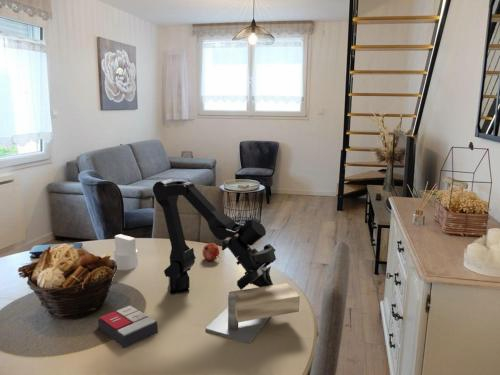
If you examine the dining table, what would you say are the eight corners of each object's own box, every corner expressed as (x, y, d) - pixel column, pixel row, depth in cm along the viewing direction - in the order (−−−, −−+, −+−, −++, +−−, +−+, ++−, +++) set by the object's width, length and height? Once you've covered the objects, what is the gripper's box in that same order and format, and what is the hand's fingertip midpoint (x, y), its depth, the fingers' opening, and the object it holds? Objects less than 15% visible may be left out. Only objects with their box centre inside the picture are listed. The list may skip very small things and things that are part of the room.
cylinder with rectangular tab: (142, 264, 166) (141, 236, 163) (125, 272, 158) (123, 242, 156) (127, 259, 171) (126, 231, 168) (109, 266, 163) (107, 238, 160)
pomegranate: (210, 259, 177) (194, 250, 171) (220, 245, 178) (204, 236, 172) (218, 267, 171) (202, 258, 165) (228, 253, 172) (212, 243, 166)
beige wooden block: (223, 320, 124) (224, 289, 122) (285, 309, 131) (286, 280, 129) (232, 336, 116) (233, 303, 114) (298, 324, 123) (299, 293, 121)
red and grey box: (130, 303, 128) (157, 319, 118) (131, 316, 129) (158, 333, 119) (96, 316, 121) (123, 334, 110) (98, 330, 121) (124, 349, 111)
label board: (205, 330, 120) (205, 327, 120) (244, 293, 143) (244, 290, 143) (248, 343, 114) (248, 340, 114) (282, 302, 137) (282, 299, 137)
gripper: (247, 248, 119) (281, 292, 117) (271, 230, 135) (301, 268, 133) (223, 268, 124) (255, 310, 122) (249, 248, 140) (278, 285, 138)
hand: (274, 292), depth 129 cm, fingers closed
